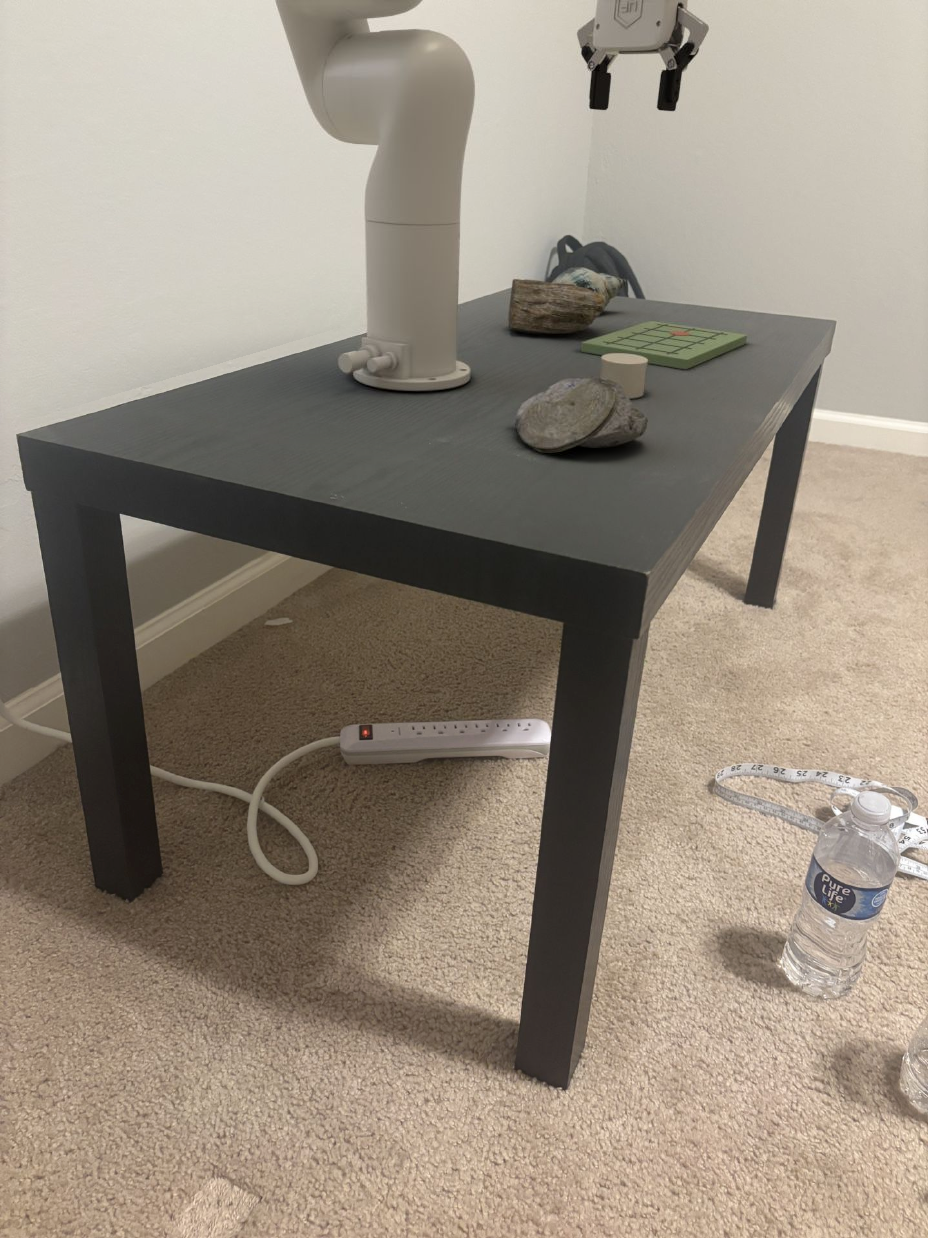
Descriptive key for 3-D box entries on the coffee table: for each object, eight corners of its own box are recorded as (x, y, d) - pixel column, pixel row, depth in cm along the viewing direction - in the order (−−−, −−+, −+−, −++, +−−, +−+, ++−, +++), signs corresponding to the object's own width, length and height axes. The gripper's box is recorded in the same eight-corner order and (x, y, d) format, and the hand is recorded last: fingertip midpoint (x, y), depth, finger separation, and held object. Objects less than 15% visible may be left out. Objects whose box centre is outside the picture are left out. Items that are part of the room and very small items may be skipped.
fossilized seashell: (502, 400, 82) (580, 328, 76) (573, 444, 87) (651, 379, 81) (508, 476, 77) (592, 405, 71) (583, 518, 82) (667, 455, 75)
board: (686, 369, 105) (687, 358, 105) (580, 351, 112) (581, 341, 112) (745, 343, 120) (747, 334, 119) (649, 329, 127) (650, 319, 126)
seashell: (546, 316, 142) (620, 323, 138) (532, 301, 135) (610, 308, 131) (553, 275, 141) (628, 280, 137) (540, 258, 134) (619, 263, 130)
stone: (608, 299, 127) (606, 248, 118) (605, 361, 124) (603, 313, 114) (513, 302, 130) (504, 253, 120) (508, 363, 126) (498, 317, 117)
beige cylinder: (631, 401, 92) (635, 365, 90) (589, 393, 94) (593, 358, 93) (651, 392, 95) (655, 357, 94) (610, 384, 98) (614, 350, 96)
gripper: (568, -64, 104) (555, 107, 112) (702, -81, 93) (677, 109, 101) (605, -53, 108) (591, 110, 117) (736, -68, 98) (710, 112, 106)
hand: (631, 109), depth 109 cm, fingers open, 9 cm apart
